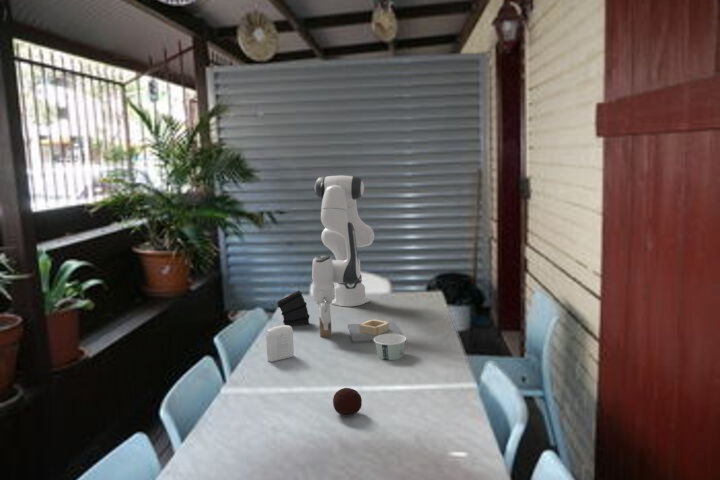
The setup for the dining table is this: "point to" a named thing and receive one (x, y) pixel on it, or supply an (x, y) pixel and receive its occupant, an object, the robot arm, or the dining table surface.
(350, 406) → the brown ball
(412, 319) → the dining table surface
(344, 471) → the dining table surface
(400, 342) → the food container
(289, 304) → the black ridged flat block
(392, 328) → the mount plate
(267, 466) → the dining table surface
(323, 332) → the block
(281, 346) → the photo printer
